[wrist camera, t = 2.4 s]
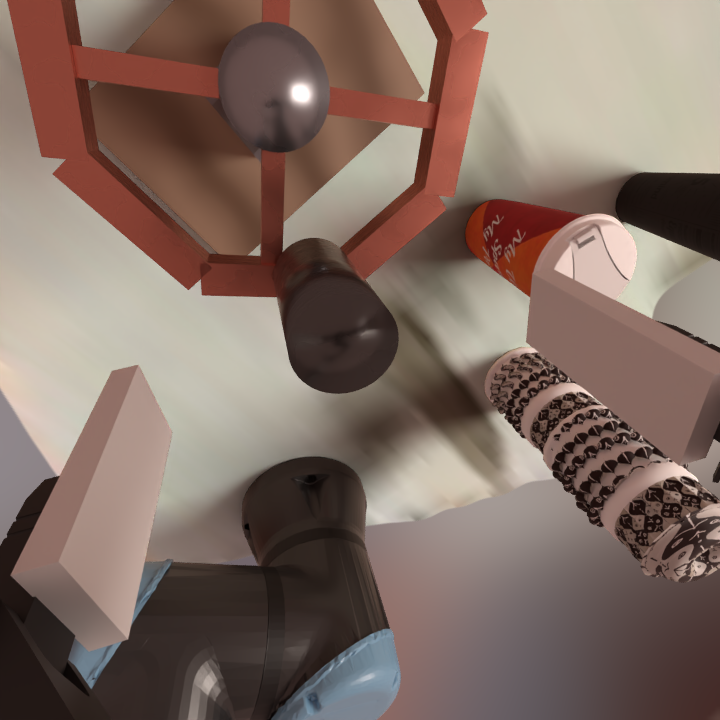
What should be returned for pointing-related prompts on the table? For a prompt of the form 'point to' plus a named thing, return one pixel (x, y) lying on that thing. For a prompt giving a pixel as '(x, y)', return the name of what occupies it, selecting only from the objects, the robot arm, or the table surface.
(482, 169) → the table surface
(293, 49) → the handwheel
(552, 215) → the paper cup
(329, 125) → the brown block
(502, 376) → the decorative candle
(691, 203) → the drinking cup
